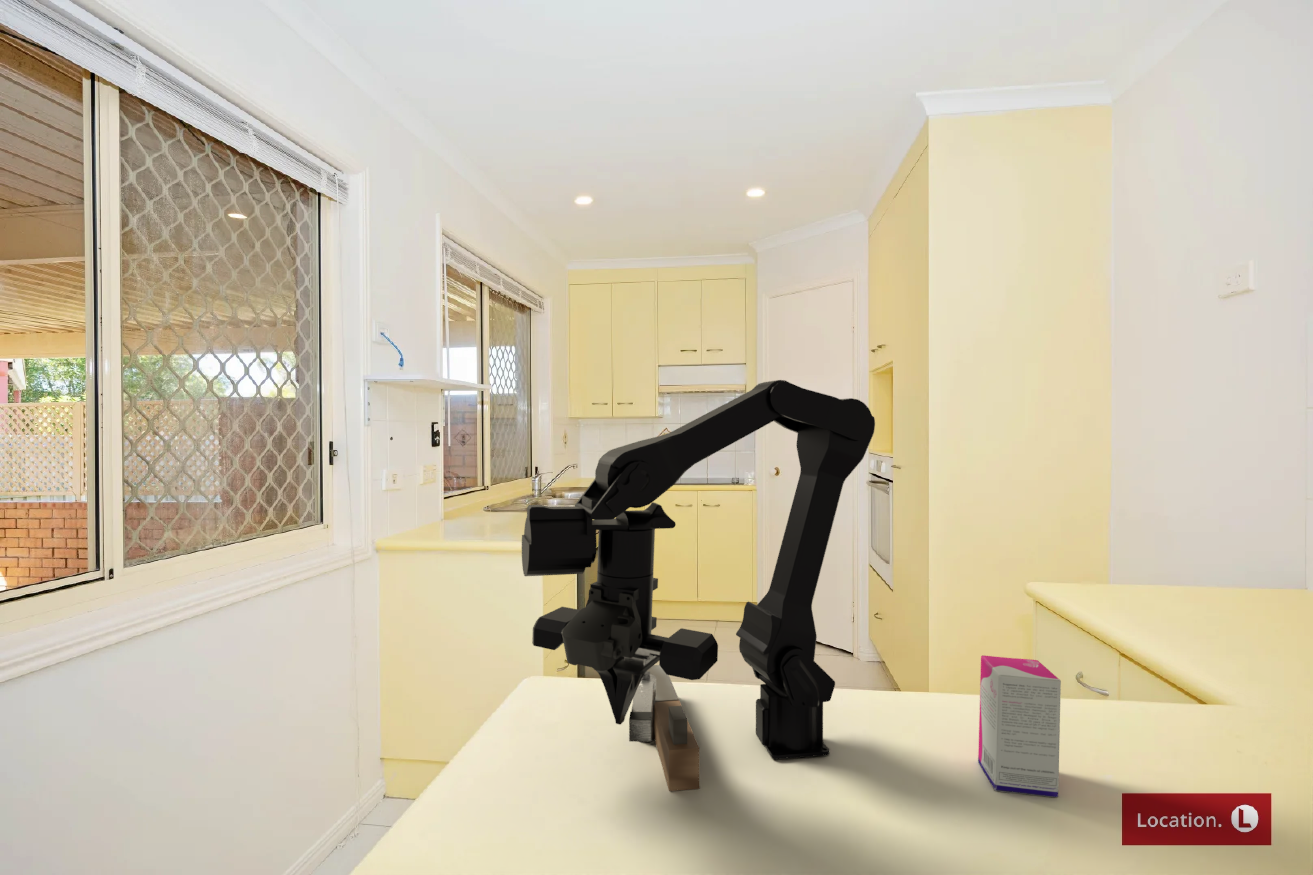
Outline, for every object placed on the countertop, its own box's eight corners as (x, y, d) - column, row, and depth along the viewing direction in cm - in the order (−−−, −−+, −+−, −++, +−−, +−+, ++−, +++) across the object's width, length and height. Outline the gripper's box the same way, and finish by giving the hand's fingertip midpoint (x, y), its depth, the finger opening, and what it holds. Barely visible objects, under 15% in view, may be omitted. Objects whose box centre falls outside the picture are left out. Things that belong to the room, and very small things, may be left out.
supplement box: (1061, 798, 60) (1062, 679, 60) (994, 791, 61) (994, 674, 61) (1037, 766, 66) (1038, 657, 65) (976, 760, 67) (976, 653, 67)
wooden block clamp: (664, 694, 83) (664, 645, 83) (699, 788, 62) (699, 722, 62) (625, 696, 83) (625, 647, 83) (646, 792, 61) (646, 726, 61)
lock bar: (634, 691, 73) (634, 668, 73) (656, 691, 73) (656, 668, 73) (627, 741, 62) (627, 713, 62) (653, 741, 61) (653, 714, 61)
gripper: (500, 575, 60) (496, 735, 61) (680, 605, 53) (673, 788, 53) (564, 554, 71) (559, 692, 71) (722, 577, 63) (716, 731, 63)
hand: (620, 722), depth 64 cm, fingers closed
